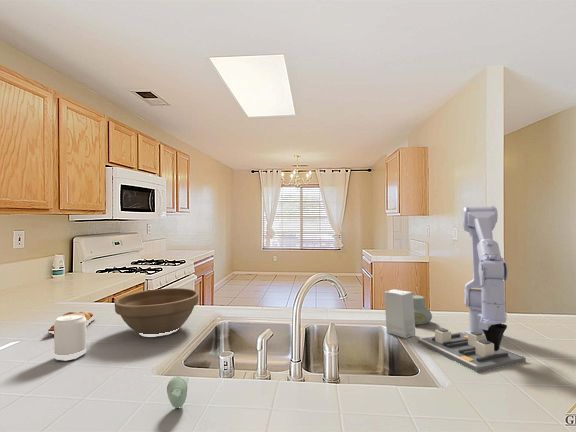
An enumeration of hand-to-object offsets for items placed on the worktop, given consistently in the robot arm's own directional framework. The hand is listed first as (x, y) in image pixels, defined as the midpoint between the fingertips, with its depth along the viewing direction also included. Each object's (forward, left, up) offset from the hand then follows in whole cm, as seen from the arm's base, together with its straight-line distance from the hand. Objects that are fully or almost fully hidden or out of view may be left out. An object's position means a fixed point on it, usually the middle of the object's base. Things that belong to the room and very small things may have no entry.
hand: (493, 349), depth 95 cm
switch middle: (0, -6, -1) cm, 6 cm away
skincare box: (+12, -26, -3) cm, 29 cm away
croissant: (+122, -75, -3) cm, 144 cm away
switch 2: (+3, 0, -1) cm, 4 cm away
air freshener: (-2, -34, -3) cm, 34 cm away
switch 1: (+7, -12, -1) cm, 14 cm away
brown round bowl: (+92, -60, -3) cm, 110 cm away
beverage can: (+116, -45, -3) cm, 125 cm away
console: (+3, -6, -2) cm, 7 cm away
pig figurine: (+86, -5, -3) cm, 86 cm away
